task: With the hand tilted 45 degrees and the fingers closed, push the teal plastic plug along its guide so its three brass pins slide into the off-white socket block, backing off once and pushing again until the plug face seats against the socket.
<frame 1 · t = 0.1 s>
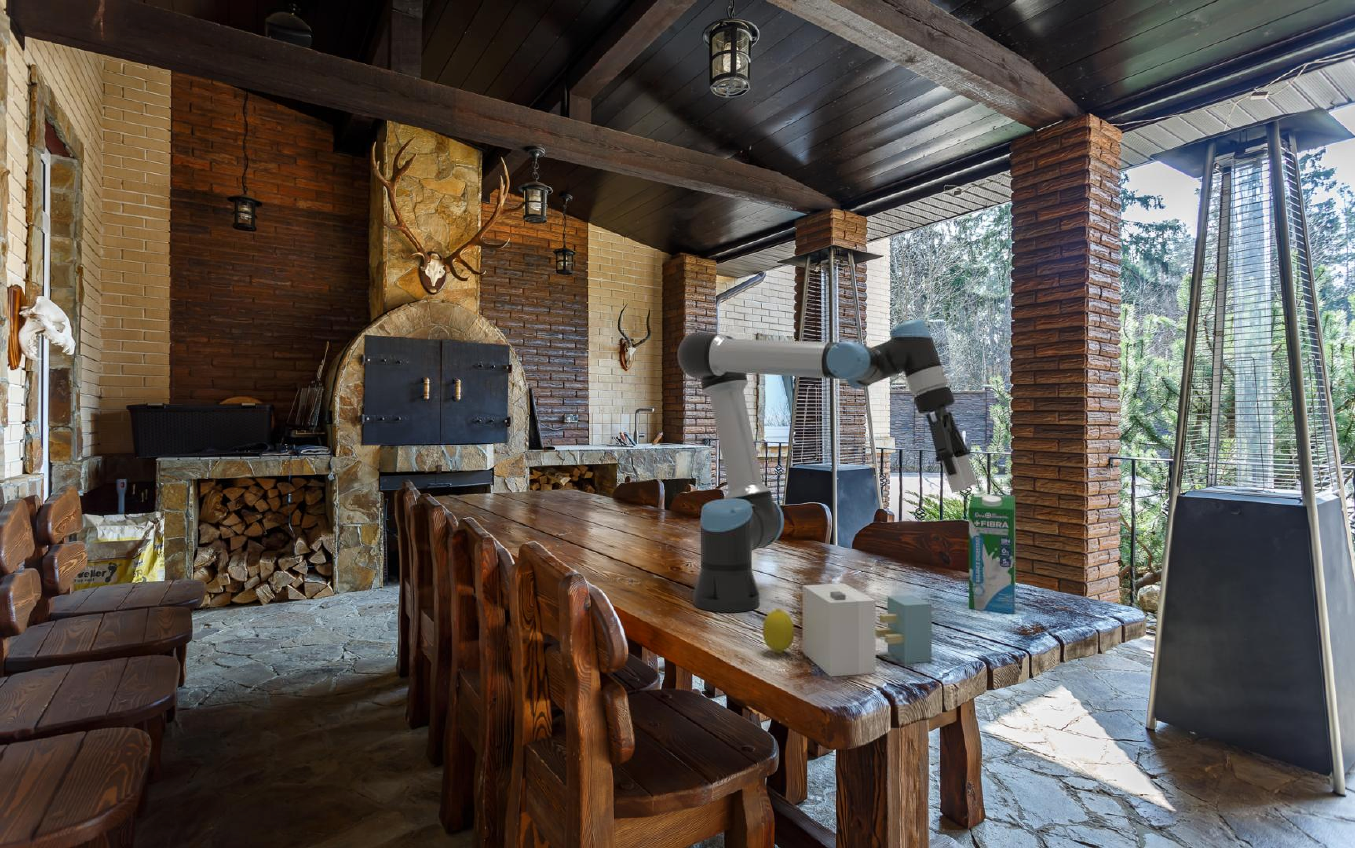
hand: (965, 488, 138), 28 cm above the table, tool tilted 20°, fingers open, 13 cm apart
milk carton: (992, 607, 151), on the table
lemon: (778, 654, 120), on the table
tweezers: (868, 633, 134), on the table
plug: (902, 628, 118), point 5 cm above the table, slide at 0.0 cm
socket: (842, 661, 116), on the table
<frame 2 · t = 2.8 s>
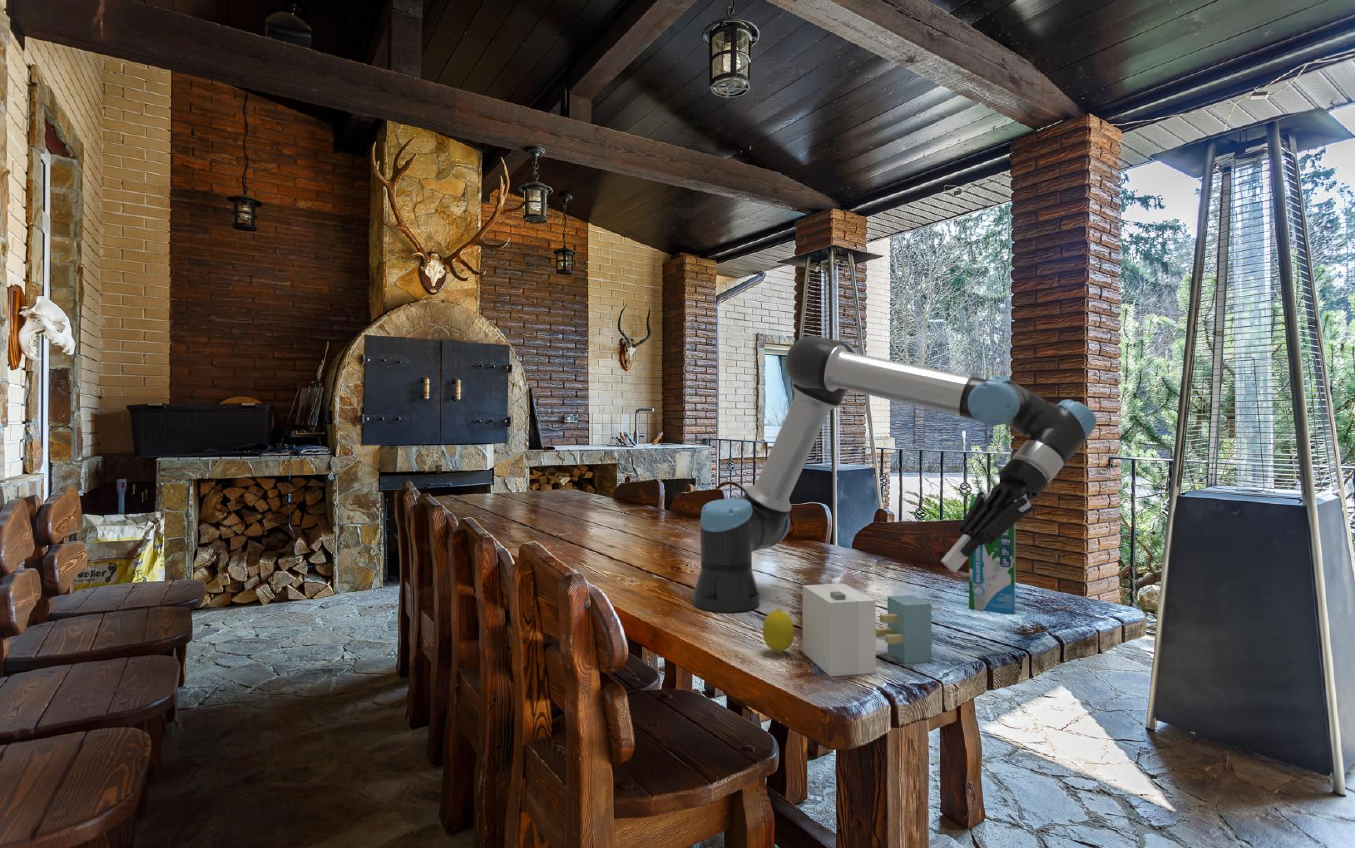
hand: (948, 566, 119), 16 cm above the table, tool tilted 45°, fingers closed
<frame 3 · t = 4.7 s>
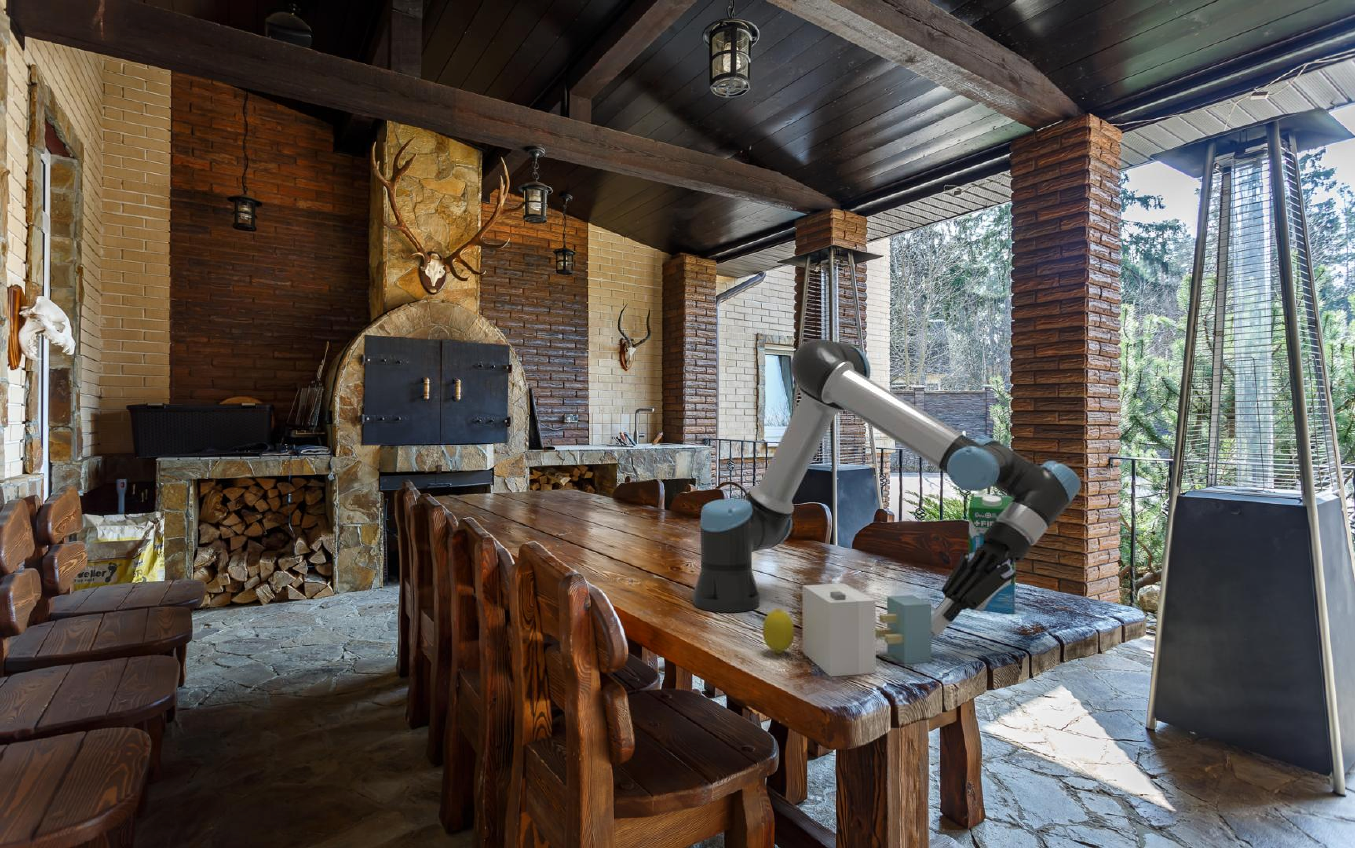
hand: (930, 630, 119), 4 cm above the table, tool tilted 45°, fingers closed
plug: (902, 628, 118), point 5 cm above the table, slide at 0.1 cm, touching gripper
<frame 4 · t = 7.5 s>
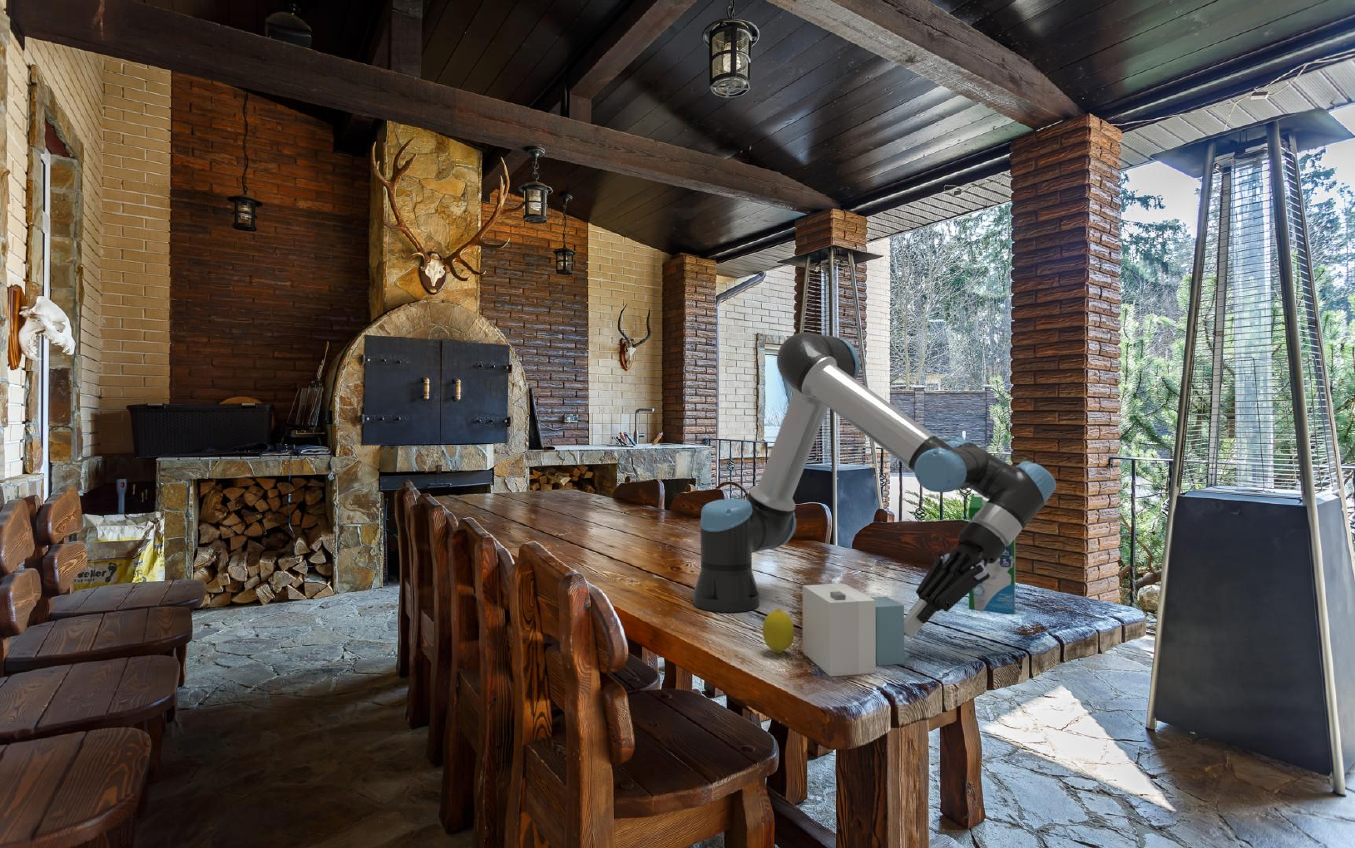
hand: (904, 632, 118), 4 cm above the table, tool tilted 45°, fingers closed
plug: (875, 630, 117), point 5 cm above the table, slide at 5.2 cm, touching gripper
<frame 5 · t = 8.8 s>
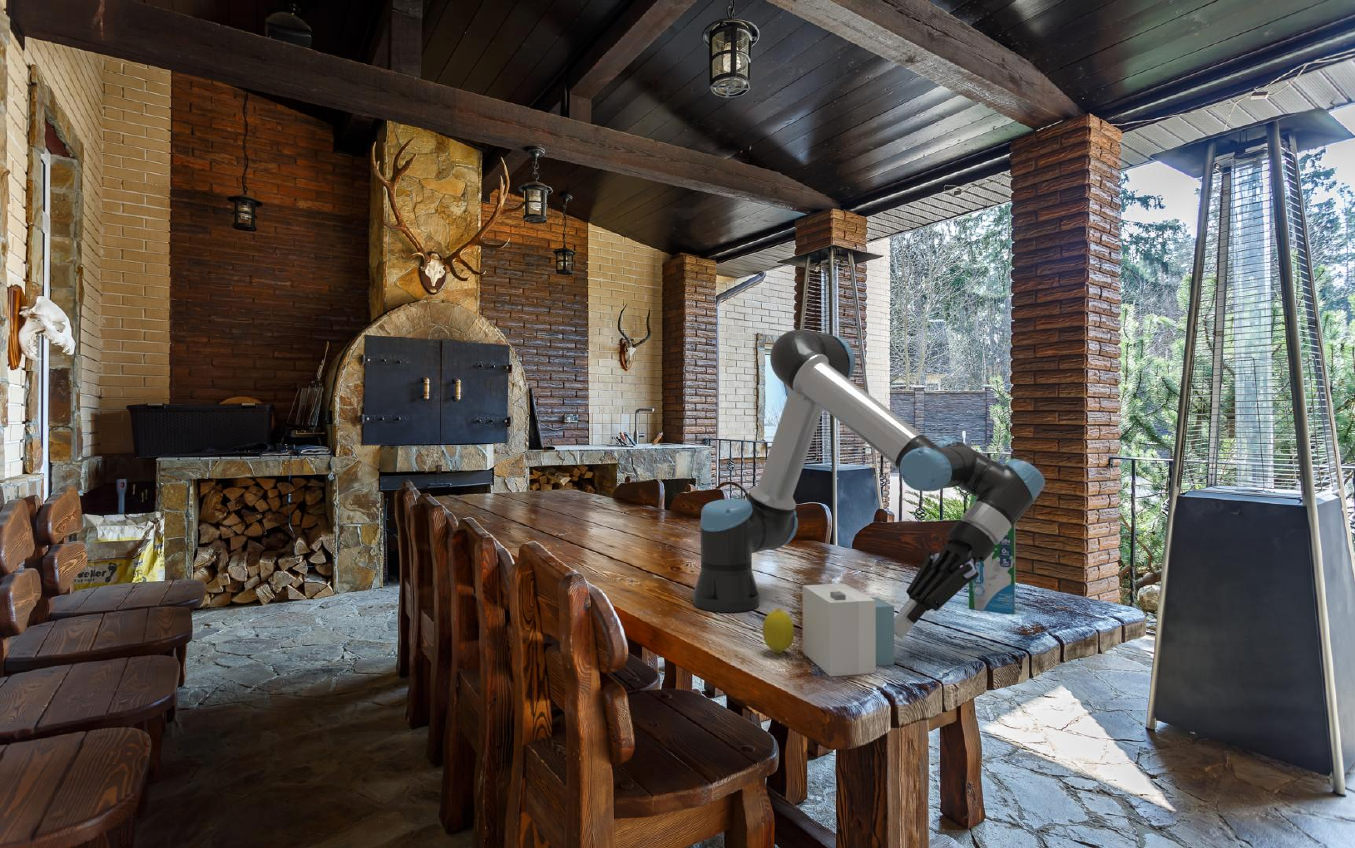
hand: (894, 632, 118), 4 cm above the table, tool tilted 45°, fingers closed
plug: (865, 631, 117), point 5 cm above the table, slide at 7.0 cm, touching gripper, socket
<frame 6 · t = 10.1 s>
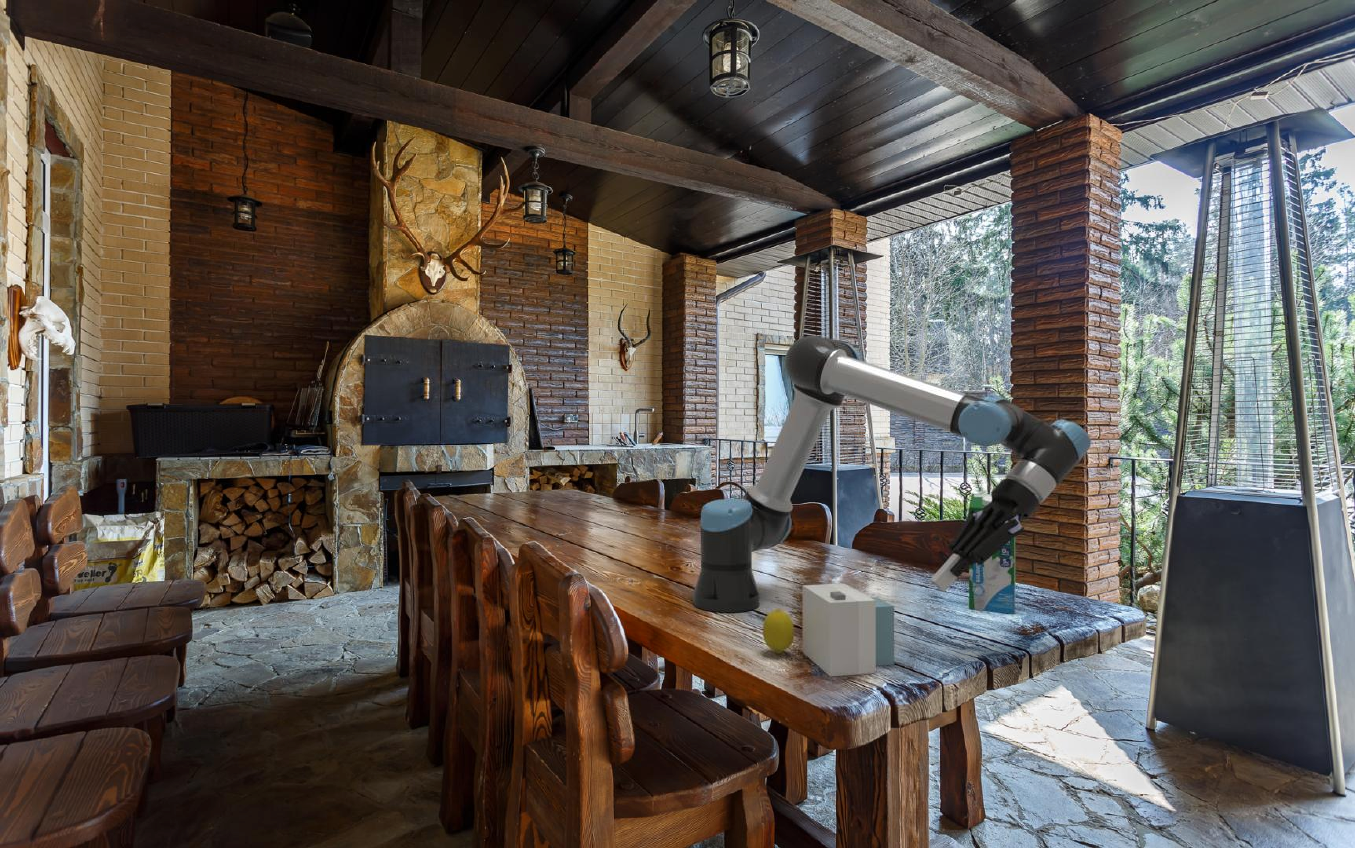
hand: (937, 585, 119), 12 cm above the table, tool tilted 45°, fingers closed
plug: (865, 631, 117), point 5 cm above the table, slide at 7.0 cm, touching socket
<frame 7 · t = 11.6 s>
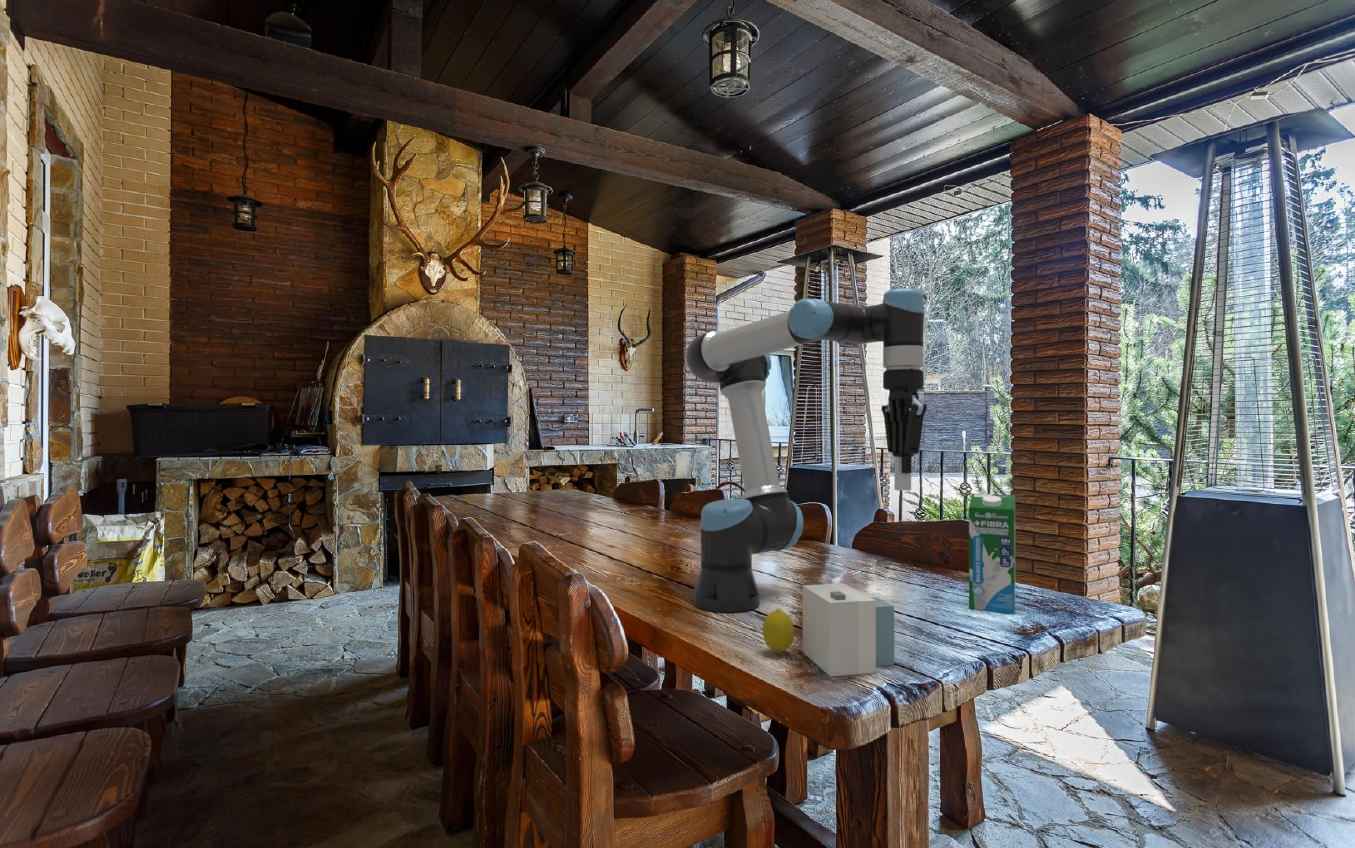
hand: (902, 489, 131), 28 cm above the table, tool pointing down, fingers closed
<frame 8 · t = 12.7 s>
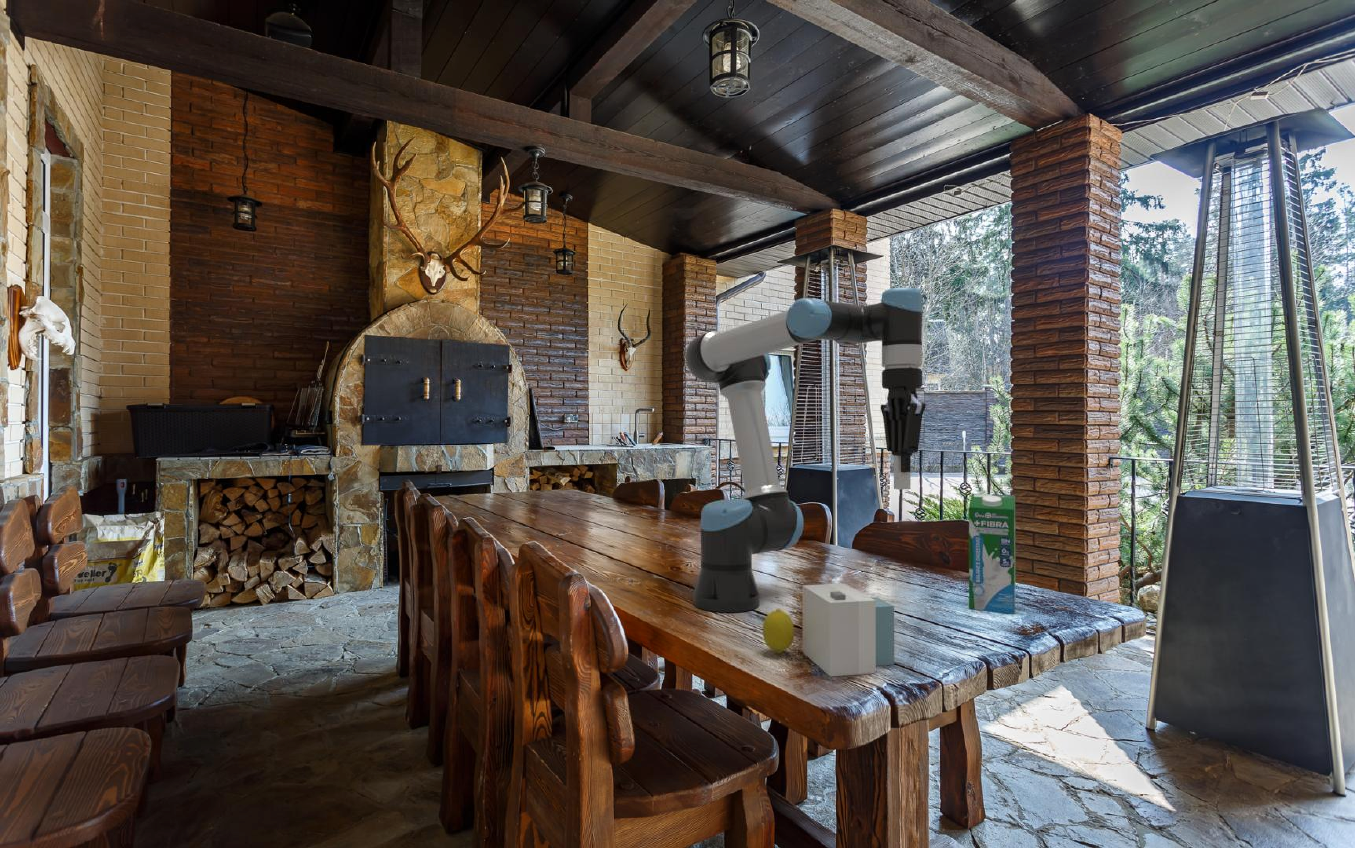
hand: (902, 488, 131), 28 cm above the table, tool pointing down, fingers closed
at the end: plug slide at 7.0 cm; plug touching socket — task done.
